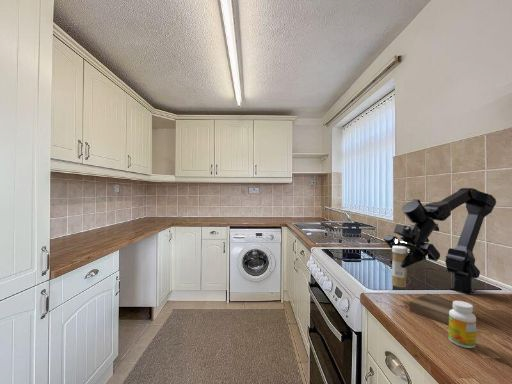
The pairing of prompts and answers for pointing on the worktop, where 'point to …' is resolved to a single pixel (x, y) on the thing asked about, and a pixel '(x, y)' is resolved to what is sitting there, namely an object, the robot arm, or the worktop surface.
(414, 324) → the worktop surface
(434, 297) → the walnut block
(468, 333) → the supplement bottle
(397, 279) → the sprinkles bottle
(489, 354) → the worktop surface
